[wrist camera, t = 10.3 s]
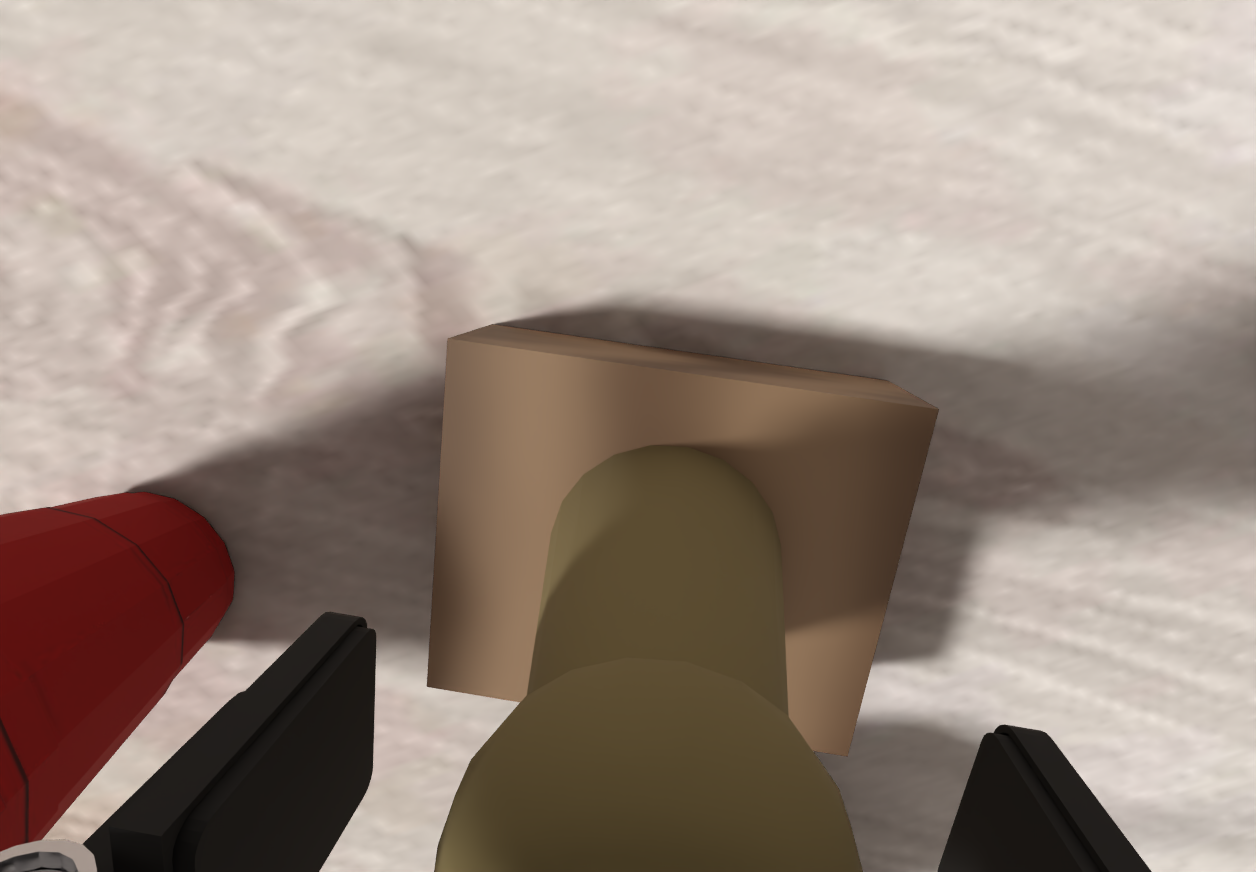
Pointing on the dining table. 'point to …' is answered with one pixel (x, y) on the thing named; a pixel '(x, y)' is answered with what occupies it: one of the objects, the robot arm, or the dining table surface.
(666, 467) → the olive pawn figure
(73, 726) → the plastic cup
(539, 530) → the walnut plinth
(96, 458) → the dining table surface
